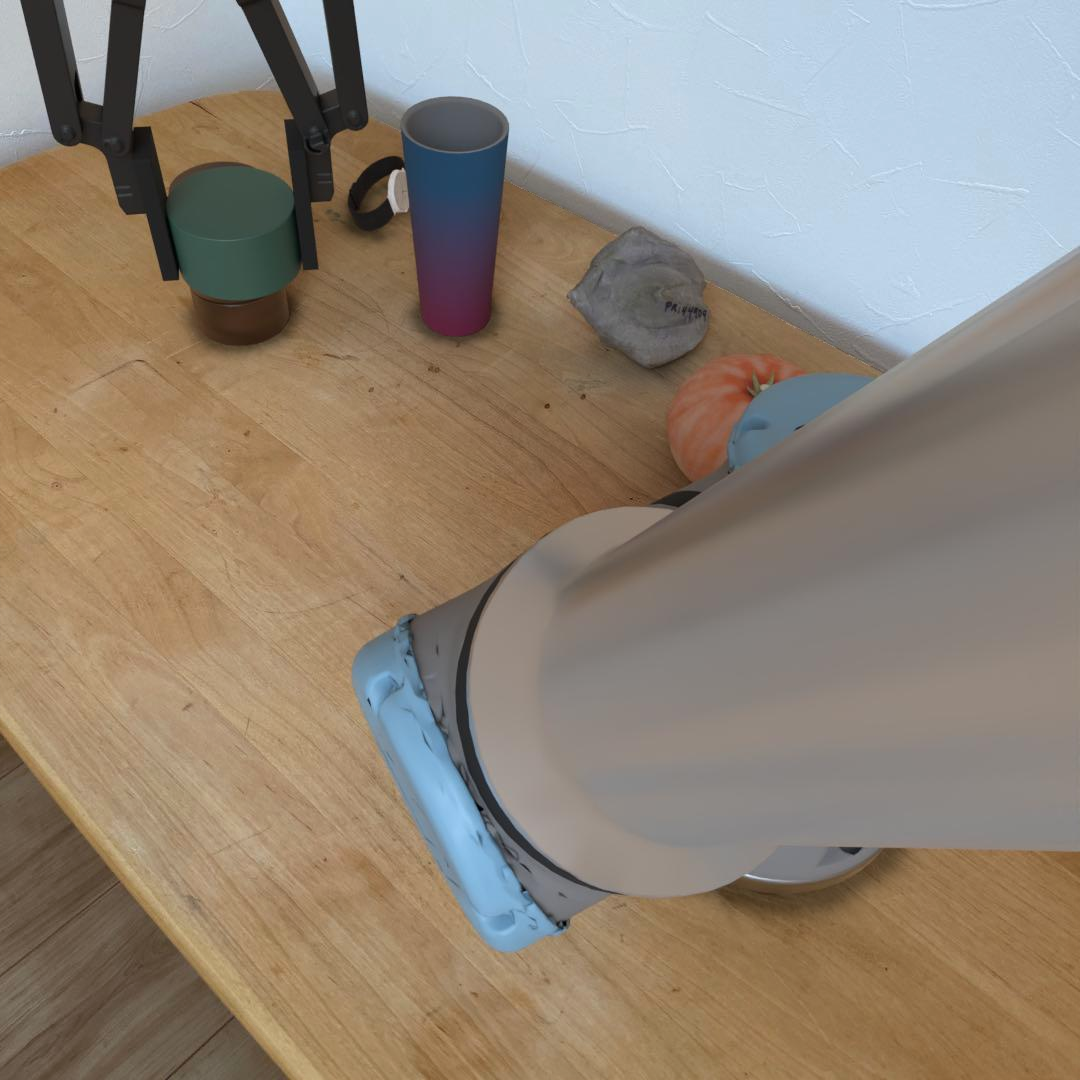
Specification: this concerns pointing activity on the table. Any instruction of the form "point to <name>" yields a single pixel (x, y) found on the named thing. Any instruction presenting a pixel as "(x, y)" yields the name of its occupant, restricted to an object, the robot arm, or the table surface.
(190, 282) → the green cylinder
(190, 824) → the table surface
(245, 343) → the brown jar
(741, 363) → the tomato
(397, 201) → the watch
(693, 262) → the fossil
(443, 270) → the cup
